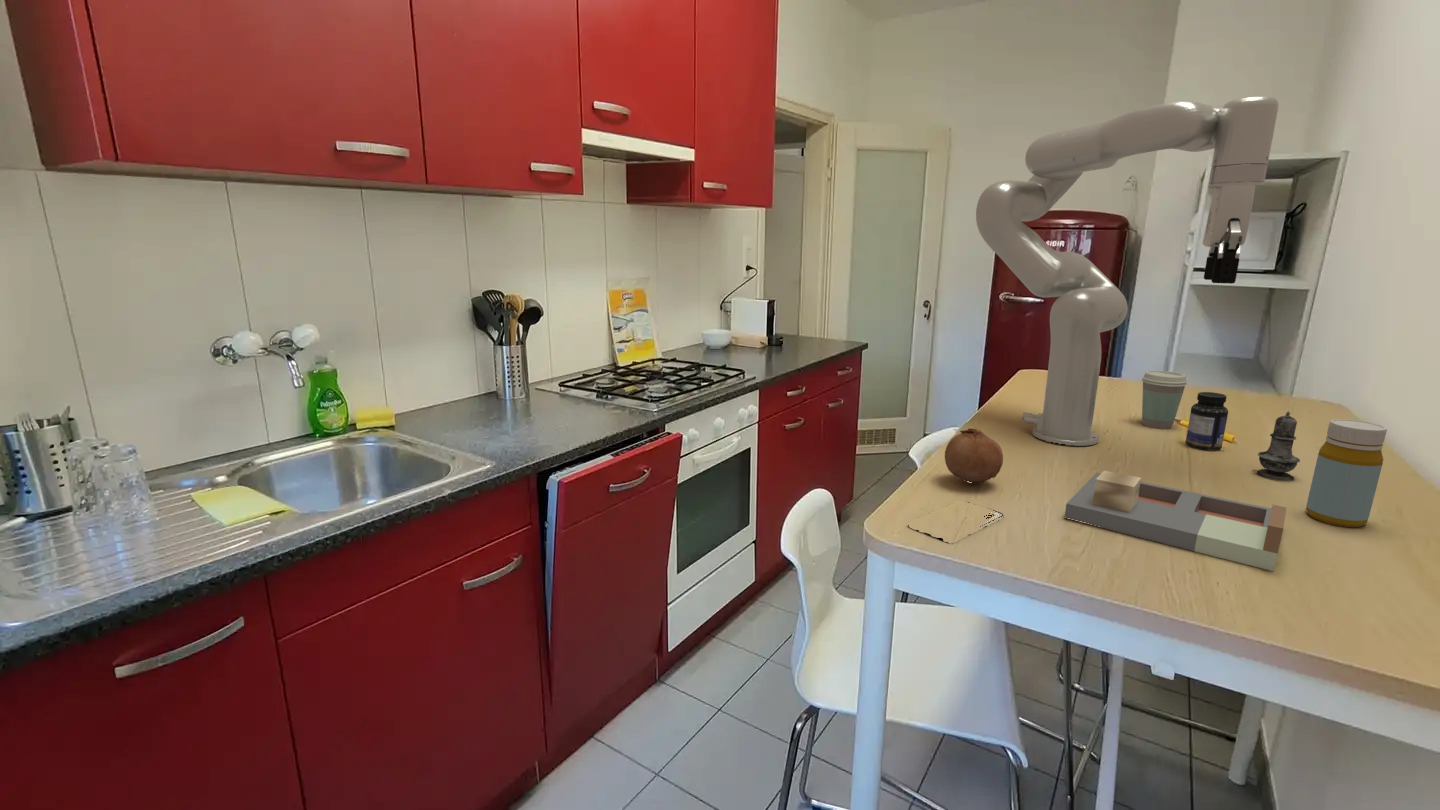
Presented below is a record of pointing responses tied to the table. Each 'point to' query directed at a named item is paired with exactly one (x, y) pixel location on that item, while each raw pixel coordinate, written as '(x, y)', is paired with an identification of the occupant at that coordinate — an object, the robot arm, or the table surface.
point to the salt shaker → (1280, 451)
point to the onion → (973, 456)
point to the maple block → (1116, 491)
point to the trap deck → (1190, 522)
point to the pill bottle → (1207, 422)
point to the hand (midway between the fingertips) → (1218, 281)
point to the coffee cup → (1161, 398)
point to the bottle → (1347, 473)
